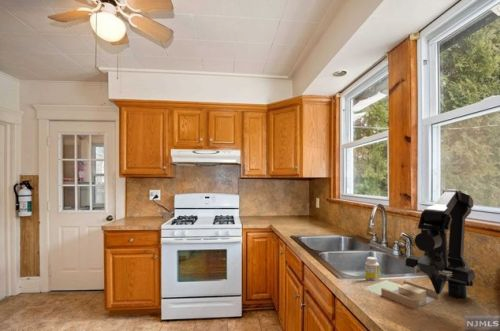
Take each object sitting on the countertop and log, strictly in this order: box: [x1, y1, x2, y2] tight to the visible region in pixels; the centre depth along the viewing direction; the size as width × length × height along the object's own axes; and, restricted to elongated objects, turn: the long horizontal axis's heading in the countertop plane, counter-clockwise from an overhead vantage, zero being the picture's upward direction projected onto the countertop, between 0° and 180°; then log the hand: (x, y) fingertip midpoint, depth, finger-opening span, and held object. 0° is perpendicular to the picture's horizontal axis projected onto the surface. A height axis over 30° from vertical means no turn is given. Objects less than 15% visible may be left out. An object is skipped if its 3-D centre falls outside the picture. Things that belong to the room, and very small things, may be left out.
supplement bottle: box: [364, 256, 380, 282], centre depth 118 cm, size 6×6×10 cm
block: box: [398, 283, 426, 305], centre depth 96 cm, size 7×5×4 cm
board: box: [363, 279, 439, 310], centre depth 102 cm, size 20×16×4 cm
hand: (438, 293), depth 89 cm, fingers closed
